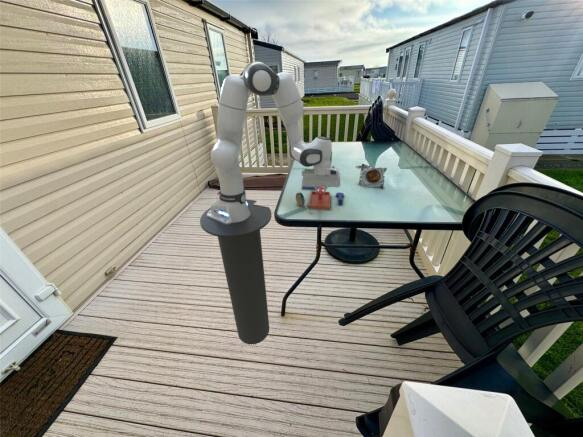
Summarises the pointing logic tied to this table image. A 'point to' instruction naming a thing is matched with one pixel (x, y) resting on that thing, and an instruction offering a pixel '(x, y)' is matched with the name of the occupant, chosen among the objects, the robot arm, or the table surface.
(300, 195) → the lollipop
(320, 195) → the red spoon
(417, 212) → the table surface
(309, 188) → the blue tray
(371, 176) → the meal
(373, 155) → the table surface
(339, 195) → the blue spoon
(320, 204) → the red tray
